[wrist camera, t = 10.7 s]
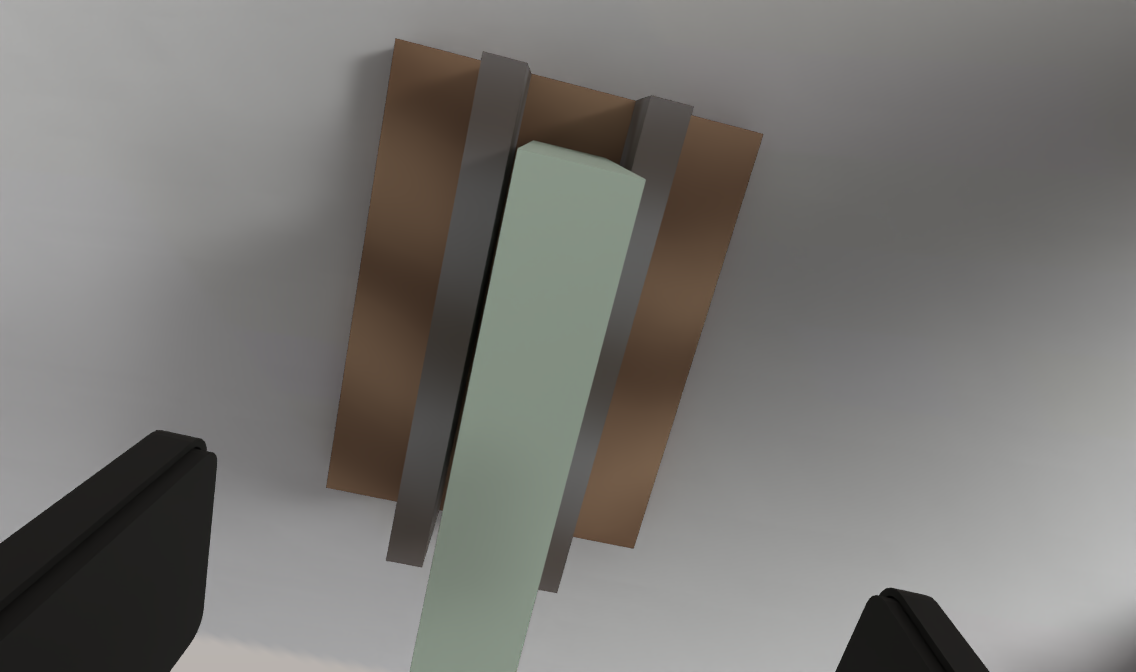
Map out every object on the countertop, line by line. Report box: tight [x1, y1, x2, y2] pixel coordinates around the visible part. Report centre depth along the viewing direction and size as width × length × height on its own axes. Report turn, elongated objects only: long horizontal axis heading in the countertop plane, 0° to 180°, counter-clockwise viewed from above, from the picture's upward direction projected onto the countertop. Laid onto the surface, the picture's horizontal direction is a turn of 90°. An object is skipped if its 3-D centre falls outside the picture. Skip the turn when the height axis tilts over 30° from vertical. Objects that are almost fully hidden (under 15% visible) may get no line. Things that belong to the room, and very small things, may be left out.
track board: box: [326, 39, 763, 593], centre depth 22 cm, size 16×12×5 cm
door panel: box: [410, 140, 646, 672], centre depth 19 cm, size 12×2×10 cm, turn 167°
